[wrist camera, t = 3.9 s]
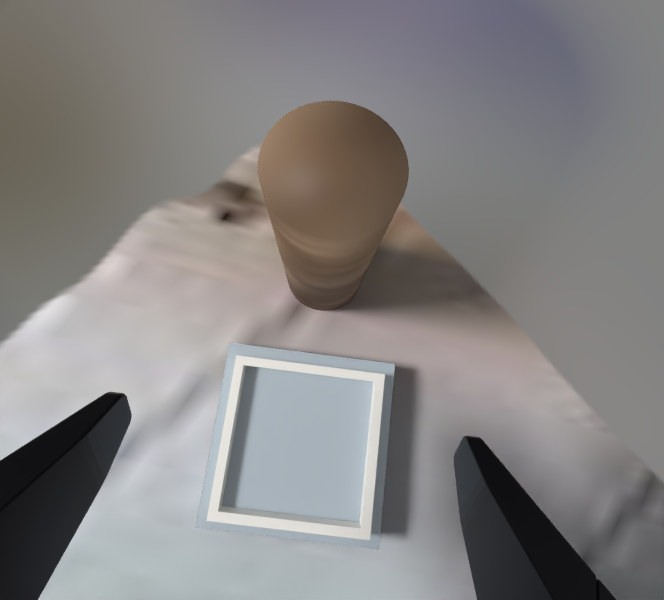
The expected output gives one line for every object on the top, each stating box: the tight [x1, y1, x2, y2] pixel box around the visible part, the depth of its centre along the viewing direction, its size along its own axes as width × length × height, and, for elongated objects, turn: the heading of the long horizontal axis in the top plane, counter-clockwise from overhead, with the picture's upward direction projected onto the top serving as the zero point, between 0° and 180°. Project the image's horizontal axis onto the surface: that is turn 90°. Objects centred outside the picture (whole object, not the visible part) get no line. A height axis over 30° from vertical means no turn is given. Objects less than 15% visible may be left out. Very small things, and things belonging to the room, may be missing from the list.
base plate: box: [195, 343, 395, 549], centre depth 21 cm, size 10×10×3 cm
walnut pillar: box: [258, 101, 409, 310], centre depth 18 cm, size 5×5×13 cm
